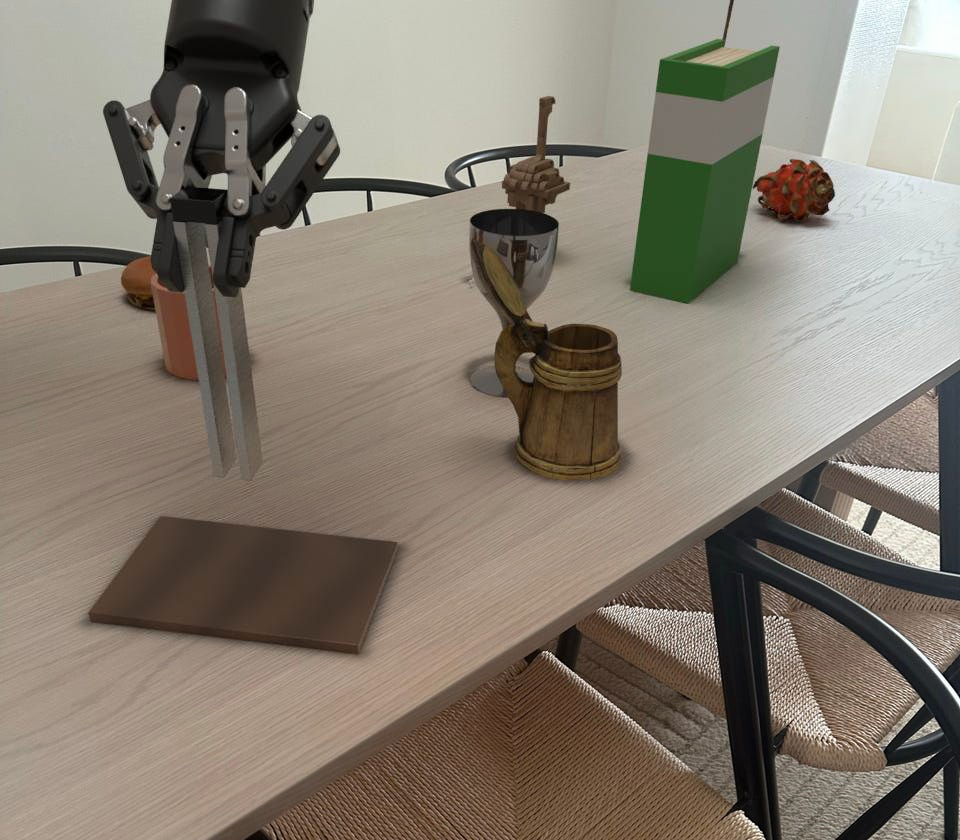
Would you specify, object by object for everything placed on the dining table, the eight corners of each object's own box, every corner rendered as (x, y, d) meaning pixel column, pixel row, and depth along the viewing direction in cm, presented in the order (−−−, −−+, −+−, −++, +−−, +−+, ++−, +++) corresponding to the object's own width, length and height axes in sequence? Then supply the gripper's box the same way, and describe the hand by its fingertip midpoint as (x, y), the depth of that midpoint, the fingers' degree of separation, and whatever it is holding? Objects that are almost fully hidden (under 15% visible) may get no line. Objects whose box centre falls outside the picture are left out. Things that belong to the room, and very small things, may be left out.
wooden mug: (472, 428, 89) (478, 220, 78) (622, 443, 88) (651, 234, 76) (455, 477, 82) (459, 256, 71) (618, 494, 81) (648, 272, 69)
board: (92, 630, 65) (87, 612, 64) (163, 532, 74) (160, 515, 73) (358, 663, 63) (357, 645, 63) (398, 558, 73) (397, 541, 72)
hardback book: (683, 250, 130) (717, 38, 114) (737, 261, 127) (779, 46, 112) (629, 290, 118) (659, 59, 102) (688, 303, 115) (728, 68, 100)
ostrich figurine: (521, 246, 129) (530, 91, 117) (565, 257, 126) (578, 99, 115) (444, 280, 118) (445, 113, 106) (490, 294, 115) (497, 123, 104)
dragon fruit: (828, 241, 140) (749, 235, 146) (850, 192, 141) (771, 189, 148) (820, 196, 133) (736, 192, 139) (843, 146, 134) (760, 144, 141)
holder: (154, 383, 94) (137, 289, 88) (184, 351, 100) (169, 261, 94) (231, 390, 93) (218, 296, 88) (257, 358, 99) (247, 267, 93)
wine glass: (454, 390, 95) (457, 228, 85) (480, 358, 101) (486, 204, 91) (533, 404, 93) (545, 241, 84) (555, 371, 99) (569, 215, 89)
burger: (136, 286, 113) (128, 245, 110) (219, 287, 114) (213, 246, 111) (118, 320, 105) (110, 276, 102) (207, 321, 106) (201, 277, 103)
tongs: (213, 477, 63) (168, 198, 53) (226, 459, 65) (185, 185, 55) (251, 481, 63) (213, 201, 52) (263, 462, 65) (229, 189, 54)
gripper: (96, -60, 53) (43, 245, 52) (348, -47, 52) (302, 266, 50) (153, 39, 61) (108, 308, 59) (375, 52, 59) (335, 328, 58)
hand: (198, 287), depth 55 cm, fingers closed on tongs, 2 cm apart
